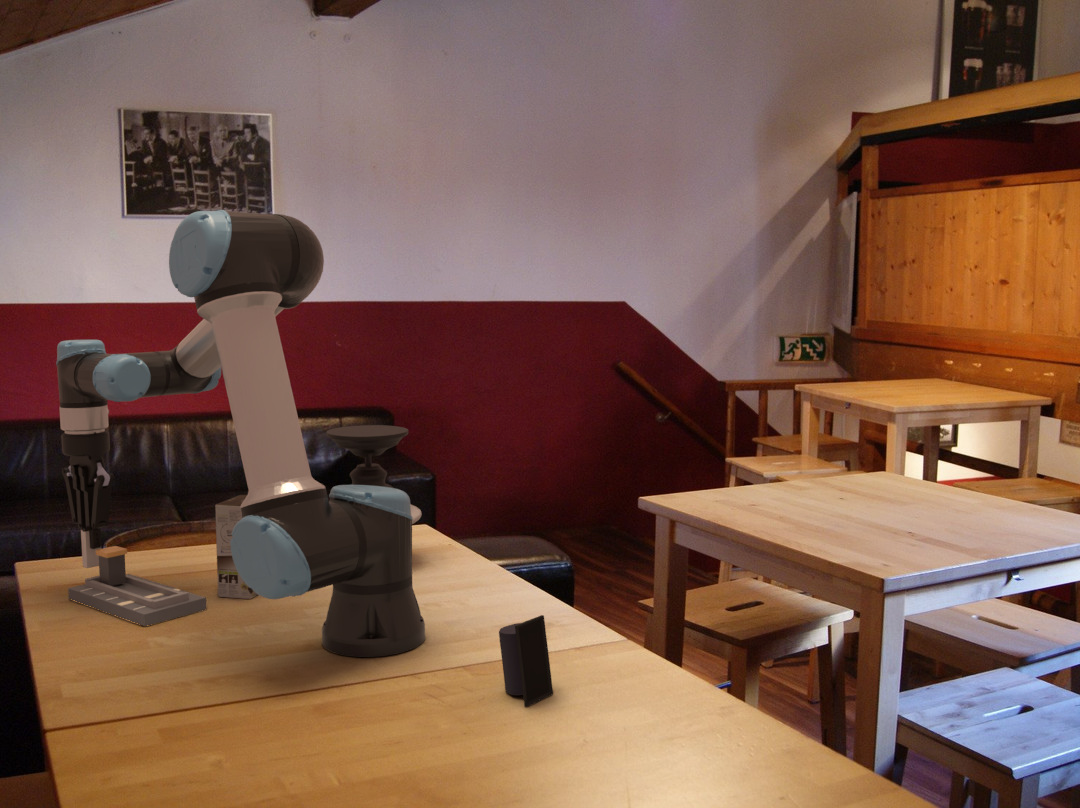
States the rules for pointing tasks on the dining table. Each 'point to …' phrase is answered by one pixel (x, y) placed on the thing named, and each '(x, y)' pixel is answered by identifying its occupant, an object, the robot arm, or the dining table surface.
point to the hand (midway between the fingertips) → (92, 565)
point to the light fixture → (370, 452)
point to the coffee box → (229, 550)
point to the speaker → (526, 660)
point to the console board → (138, 599)
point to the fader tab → (112, 565)
